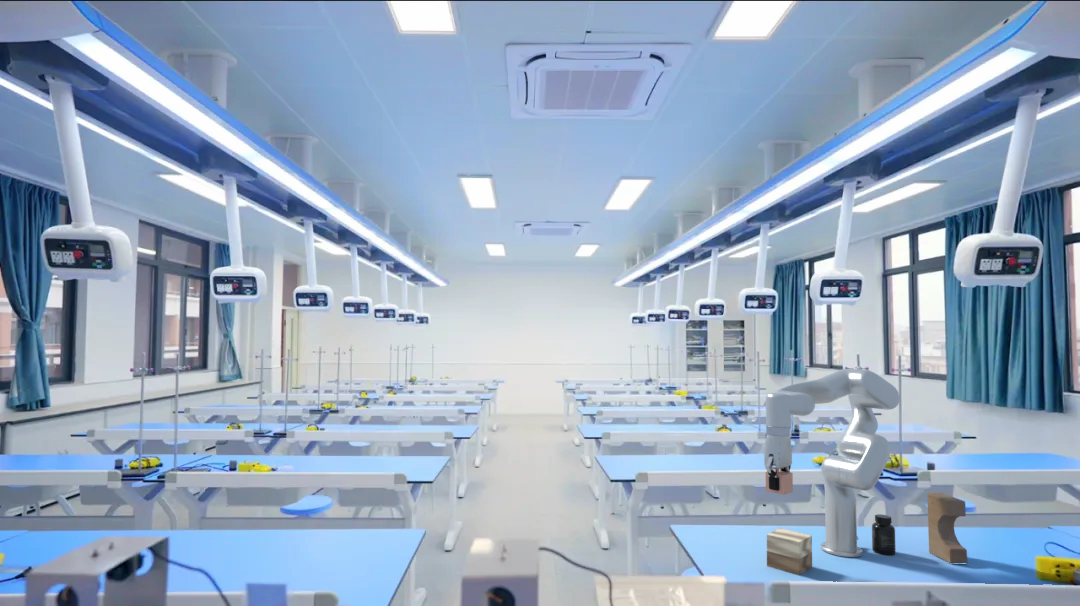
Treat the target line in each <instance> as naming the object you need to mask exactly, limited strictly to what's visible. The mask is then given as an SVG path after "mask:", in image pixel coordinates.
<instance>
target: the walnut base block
mask: <svg viewBox="0 0 1080 606" xmlns="http://www.w3.org/2000/svg"><path fill="white" fill-rule="evenodd" d="M766 567H767V568H772V569H775V570H779V571H783V572H786V573H789V574H792V575H797V576H801V575H802V574H803V573H806V572H808V571H809V570H811V569H812V568H813V551H812V552H811V553H809V554H807V555H806V556H804V557H802V558H801V559H796V558H792V557H788V556H784V555H781V554H777V553H773V552H769V551H767V550H766Z"/></svg>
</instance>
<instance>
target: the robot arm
mask: <svg viewBox="0 0 1080 606" xmlns="http://www.w3.org/2000/svg"><path fill="white" fill-rule="evenodd" d="M846 396H847V397H848V401H849V404H850V408H851V418H850V420H849V423H848V425H847V427H846V429H845V431H844V433H843V435H842V436H841V438H840V441H839V443H838V450H839V452H840V454H842V455H843V456H841V455H829V456H826V457H825V458H824V459H823V461H822V463H821V465H820V466H821V469H820V472H821V474H822V475H821V476H822V479H823V485H824V505H825V506H824V514H825V515H824V516H825V517H824V518H825V525H824V526H825V541H824V542H821V544H820V549H821V550H822V551H824V552H825V553H828V554H830V555H833V556H834V555H835V556H837V557H838V556H839V557H845V558H855V557H856V558H857V557H861V556H862V555H863V549H862V548H861V547H858V540H859V537H858V533H857V529H858V528H857V527H858V526H857V498H856V494H855V492H854V490H858V491H864V492H865V491H870V490H872V489H873V488H874V487H875V485H876V484H877V483H878V480H879V479H880V476H881V475H882V473H883V471H884V469H885V467H886V465H887V463H888V460H889V458H890V454H891V447H890V443H889V441H888V440H887V438H885V437H884V436H882V435H881V434H877V433H876V432H877V431H878V427H879V423H878V419H877V418H876V415H875V414H874V411H873V409H876V410H877V409H878V410H884V411H885V410H886V411H888V410H894V409H895V408H897V407H898V405H899V403H900V393H899V391H898V389H897V388H896V387H895V386H894V385H893V384H892V383H890V382H889V381H888V380H886V379H884V377H882V376H881V375H879V374H877V373H876V372H874V371H871V370H868V369H860V368H859V369H856V368H844V369H841V370H837V371H834V372H833V373H830V374H828V375H826V376H823V377H820V378H817V379H812V380H808V381H804V382H799V383H795V384H790V385H787V386H785V387H782V388H780V389H778V390H776V391H775V392H770V393H769V392H768V393H767V394H766V397H765V412H766V413H765V421H766V422H765V423H766V425H765V433H766V436H765V443H764V456H763V464H764V467H765V470H766V472H768V476H769V489H771V490H776V491H779V478H778V473H779V471H785V472H790V470H791V468H792V467H791V466H792V464H793V461H792V460H793V458H792V457H793V452H792V440H791V438H792V416H800V417H805V416H808V415H810V414H812V413H813V412H814V410H815V407H816V405H817V404H818V405H820V404H830V403H832V402H835V401H837V400H839V399H841V398H844V397H846ZM774 470H776V471H775V472H774ZM790 473H791V472H790ZM853 489H854V490H853Z"/></svg>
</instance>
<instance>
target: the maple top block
mask: <svg viewBox="0 0 1080 606" xmlns="http://www.w3.org/2000/svg"><path fill="white" fill-rule="evenodd" d="M812 540H813V536H812V534H808V533H807V534H806V533H803V532H800V531H795V530H791V529H786V528H781V527H779V528H777V529H775V530H774V531H773V530H772V531H771V532H769V533H767V534H766V552H767V551H769V552H773V553H777V554H781V555H784V556H788V557H792V558H796V559H801V558H802V557H804V556H806V555H807V554H809V553H811V552H812V553H813V541H812Z"/></svg>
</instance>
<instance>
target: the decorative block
mask: <svg viewBox="0 0 1080 606" xmlns="http://www.w3.org/2000/svg"><path fill="white" fill-rule="evenodd" d="M966 514H967V513H966V501H965V500H962V499H961V498H957V497H954V496H952V495H949V494H946V493H944V492H943V493H942V492H928V493H927V524H928V525H927V527H928V528H927V529H928V552H929V553H930V554H931V553H932V555H933V554H934V555H933V556H935V555H936V556H935V557H936V558H938V559H940V558H941V560H942V559H943V561H944V560H945V562H946V561H947V563H948V562H949V563H948V564H950V563H967V564H968V550H967V549H966V548H965V547H964V546H963V545H962V544H961V543H960V542H959V540H958V537H957V536H956V533H955V522H956V520H957V519H958V518H959V517H966Z"/></svg>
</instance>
